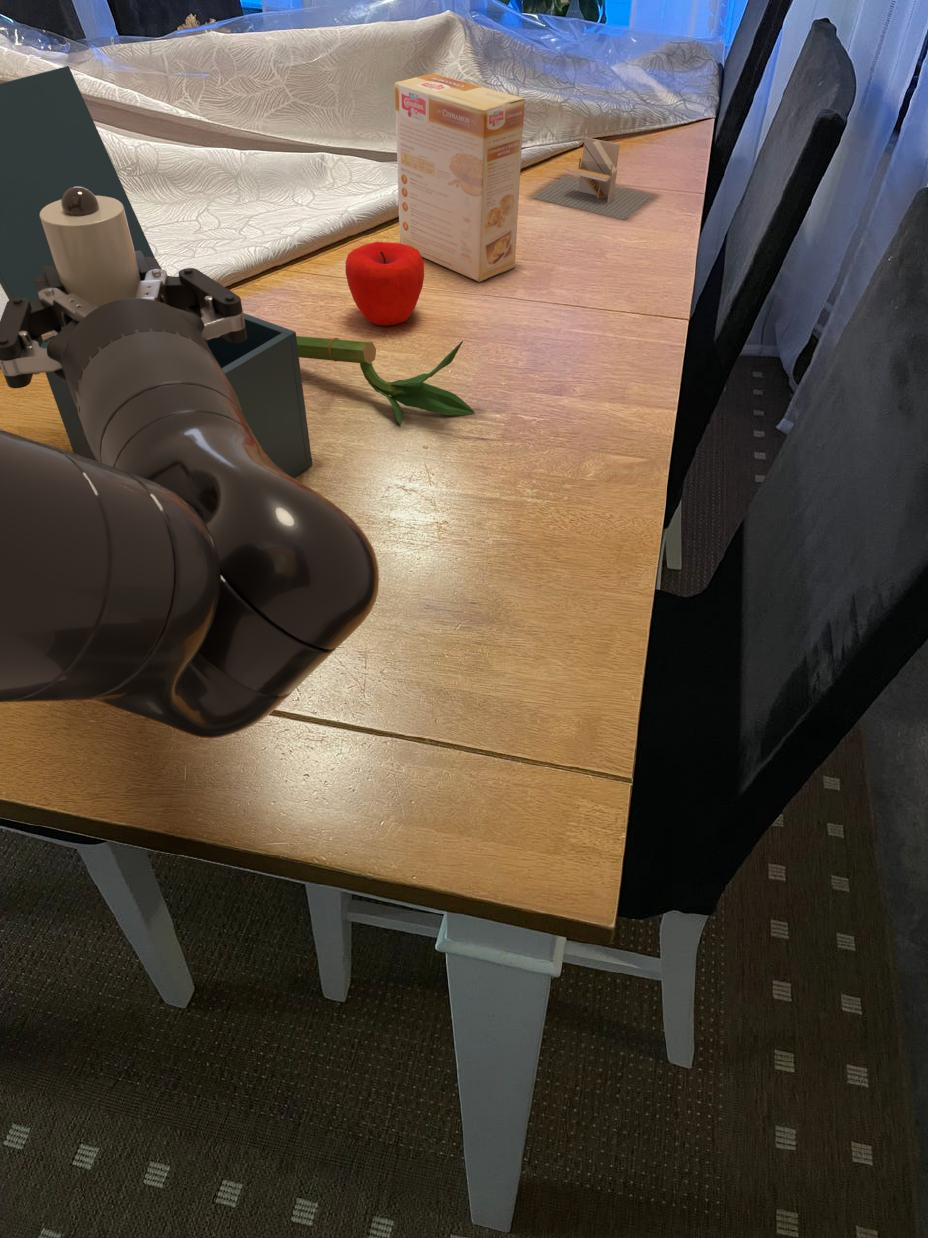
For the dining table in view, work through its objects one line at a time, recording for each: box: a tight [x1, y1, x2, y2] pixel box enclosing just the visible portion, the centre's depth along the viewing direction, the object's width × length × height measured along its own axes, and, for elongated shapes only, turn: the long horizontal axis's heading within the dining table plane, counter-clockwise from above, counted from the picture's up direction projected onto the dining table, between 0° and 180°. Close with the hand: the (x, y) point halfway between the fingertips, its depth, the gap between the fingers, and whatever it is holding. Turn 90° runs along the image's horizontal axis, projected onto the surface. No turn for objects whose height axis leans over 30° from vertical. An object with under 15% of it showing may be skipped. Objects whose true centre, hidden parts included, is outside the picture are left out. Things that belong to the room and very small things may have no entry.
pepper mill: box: [39, 187, 142, 306], centre depth 54 cm, size 5×5×12 cm
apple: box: [344, 241, 425, 327], centre depth 100 cm, size 9×9×8 cm
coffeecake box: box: [394, 72, 526, 283], centre depth 108 cm, size 15×7×20 cm, turn 46°
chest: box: [41, 307, 313, 479], centre depth 76 cm, size 16×14×13 cm
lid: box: [0, 65, 156, 336], centre depth 69 cm, size 16×14×1 cm
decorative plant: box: [296, 335, 475, 427], centre depth 91 cm, size 6×8×30 cm
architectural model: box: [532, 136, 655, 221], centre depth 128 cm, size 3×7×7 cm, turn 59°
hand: (96, 273), depth 55 cm, fingers closed on pepper mill, 4 cm apart
